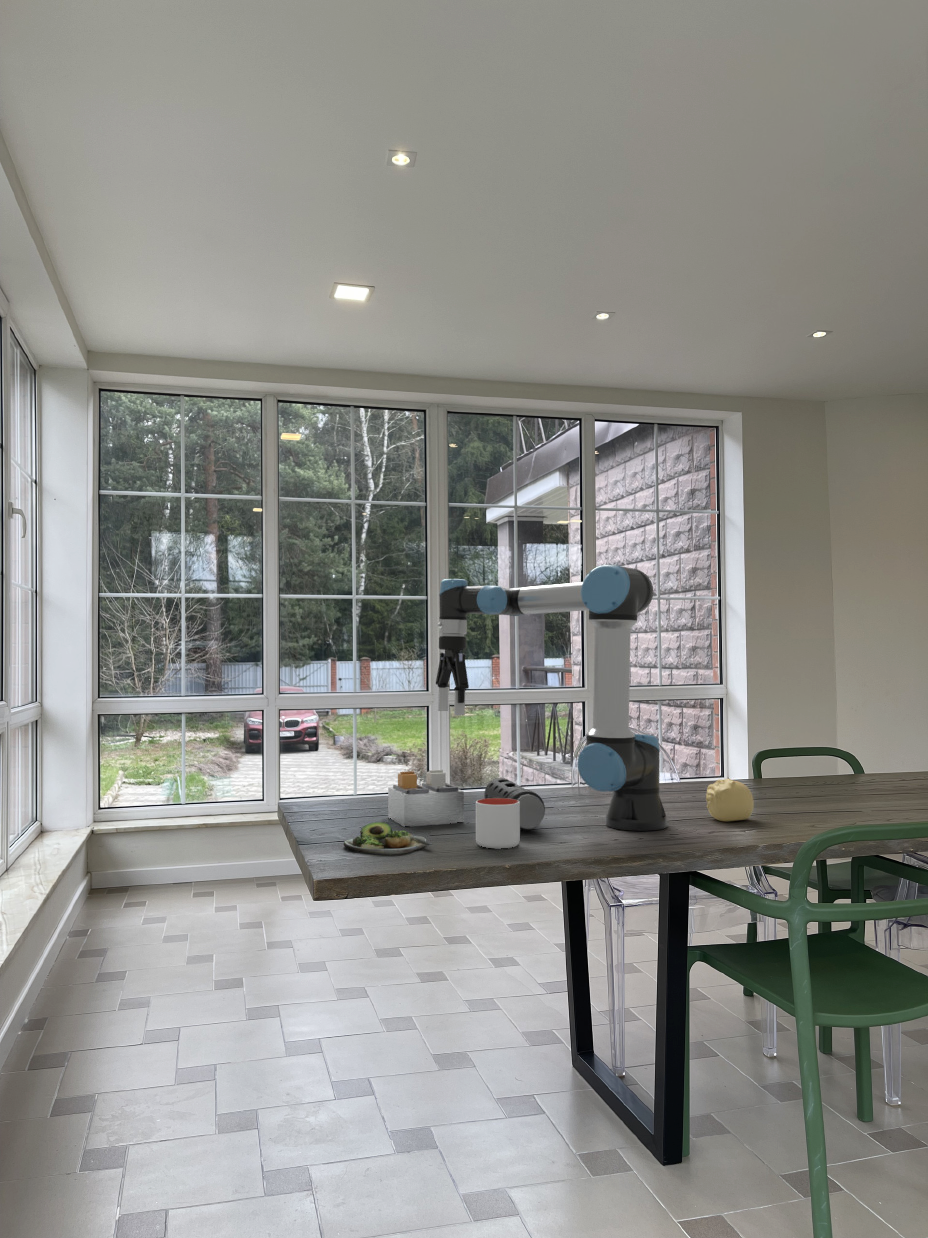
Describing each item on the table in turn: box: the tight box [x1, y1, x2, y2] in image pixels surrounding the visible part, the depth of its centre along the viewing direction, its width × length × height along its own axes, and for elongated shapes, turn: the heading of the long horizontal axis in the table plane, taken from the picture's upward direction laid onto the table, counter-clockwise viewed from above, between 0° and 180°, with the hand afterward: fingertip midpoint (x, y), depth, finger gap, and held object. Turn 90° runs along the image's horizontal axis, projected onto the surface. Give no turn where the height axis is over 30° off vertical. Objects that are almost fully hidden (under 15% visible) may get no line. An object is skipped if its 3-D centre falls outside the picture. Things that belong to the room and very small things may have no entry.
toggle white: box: [425, 769, 447, 787], centre depth 246 cm, size 4×4×4 cm
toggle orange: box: [397, 770, 418, 789], centre depth 243 cm, size 4×4×4 cm
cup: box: [475, 798, 521, 850], centre depth 210 cm, size 10×10×10 cm
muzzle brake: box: [483, 777, 546, 831], centre depth 235 cm, size 10×28×10 cm, turn 12°
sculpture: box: [705, 778, 755, 822], centre depth 241 cm, size 11×12×11 cm
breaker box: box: [387, 782, 465, 828], centre depth 241 cm, size 14×16×9 cm
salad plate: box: [343, 821, 433, 855], centre depth 208 cm, size 19×18×5 cm
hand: (451, 713), depth 253 cm, fingers open, 13 cm apart
